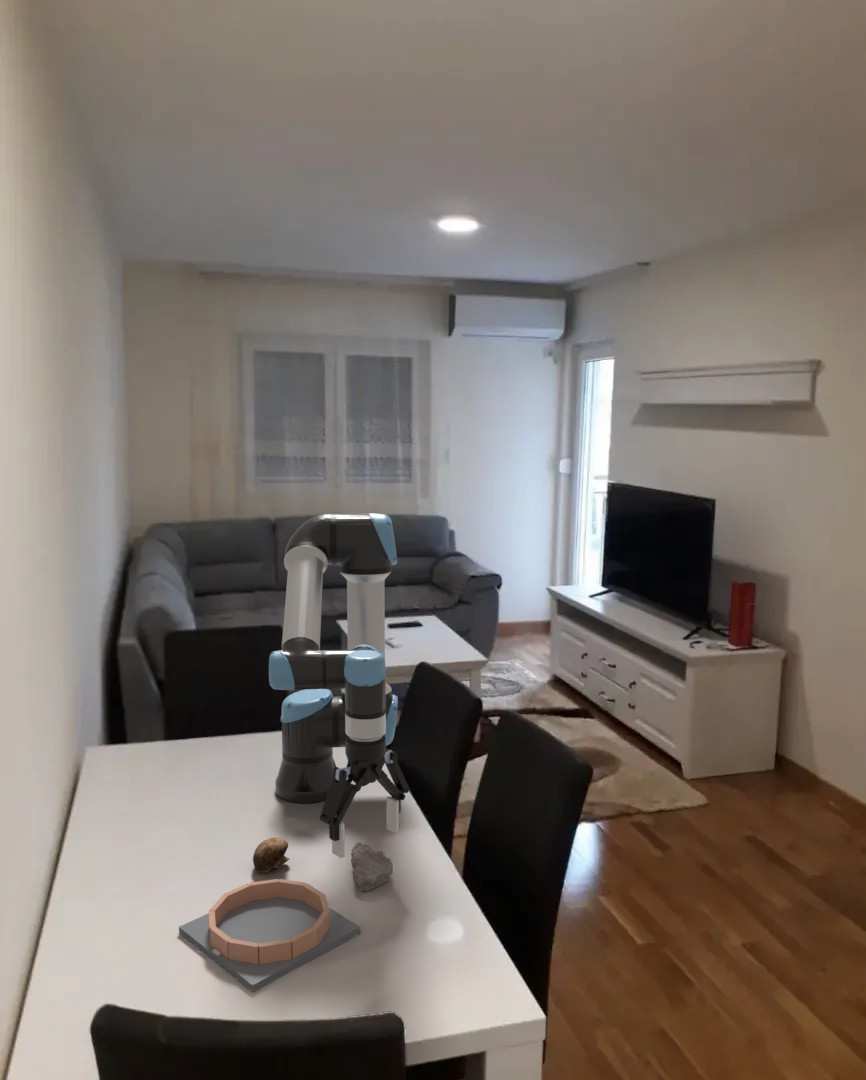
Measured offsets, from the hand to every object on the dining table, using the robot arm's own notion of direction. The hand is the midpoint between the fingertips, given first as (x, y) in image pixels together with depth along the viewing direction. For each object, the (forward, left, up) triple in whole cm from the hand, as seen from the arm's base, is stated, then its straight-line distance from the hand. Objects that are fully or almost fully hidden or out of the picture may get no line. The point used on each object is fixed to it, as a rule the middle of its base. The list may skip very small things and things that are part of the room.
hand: (366, 842), depth 172 cm
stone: (-1, -1, -8) cm, 8 cm away
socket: (+23, +1, -8) cm, 24 cm away
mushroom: (+10, -17, -8) cm, 21 cm away
